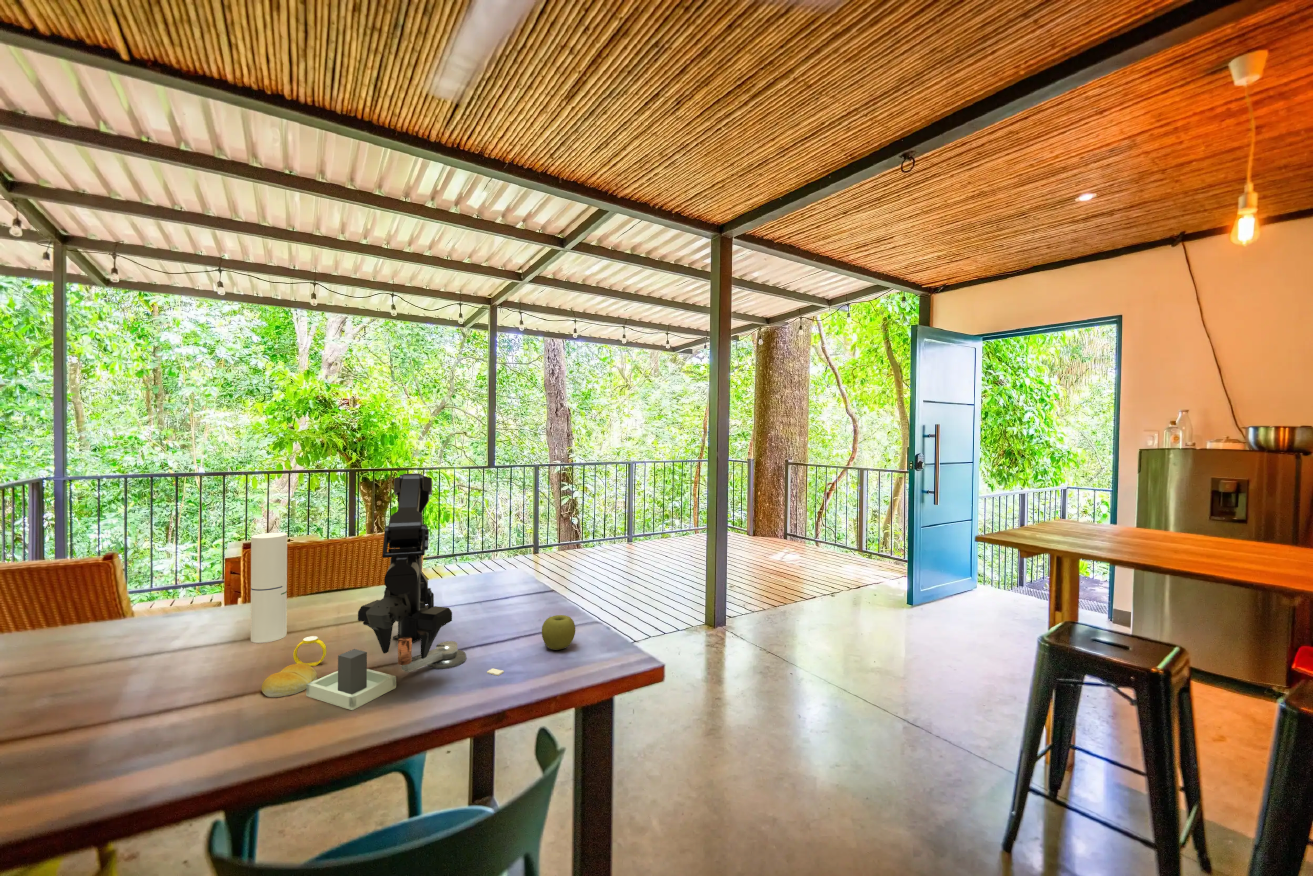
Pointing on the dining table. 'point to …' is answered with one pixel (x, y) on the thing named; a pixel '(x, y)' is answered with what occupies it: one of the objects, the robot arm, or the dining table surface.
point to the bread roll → (289, 680)
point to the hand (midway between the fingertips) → (404, 655)
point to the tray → (329, 693)
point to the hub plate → (449, 661)
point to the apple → (558, 632)
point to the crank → (411, 663)
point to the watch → (308, 641)
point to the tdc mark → (495, 671)
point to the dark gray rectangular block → (352, 671)
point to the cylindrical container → (268, 587)
